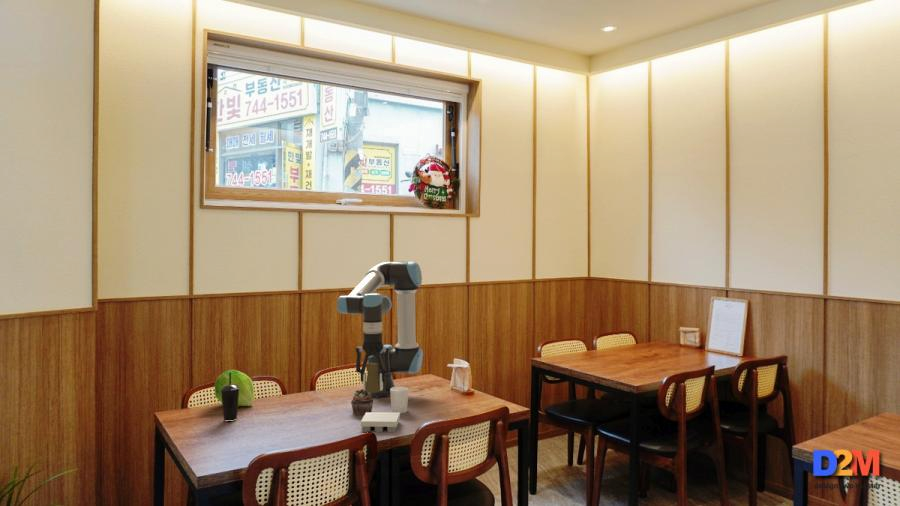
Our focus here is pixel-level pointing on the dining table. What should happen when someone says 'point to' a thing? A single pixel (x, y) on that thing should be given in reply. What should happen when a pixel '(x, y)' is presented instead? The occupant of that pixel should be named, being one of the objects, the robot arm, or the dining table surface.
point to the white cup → (399, 399)
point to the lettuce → (240, 380)
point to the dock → (380, 421)
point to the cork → (372, 378)
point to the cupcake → (362, 402)
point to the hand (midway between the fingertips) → (373, 389)
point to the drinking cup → (230, 400)
